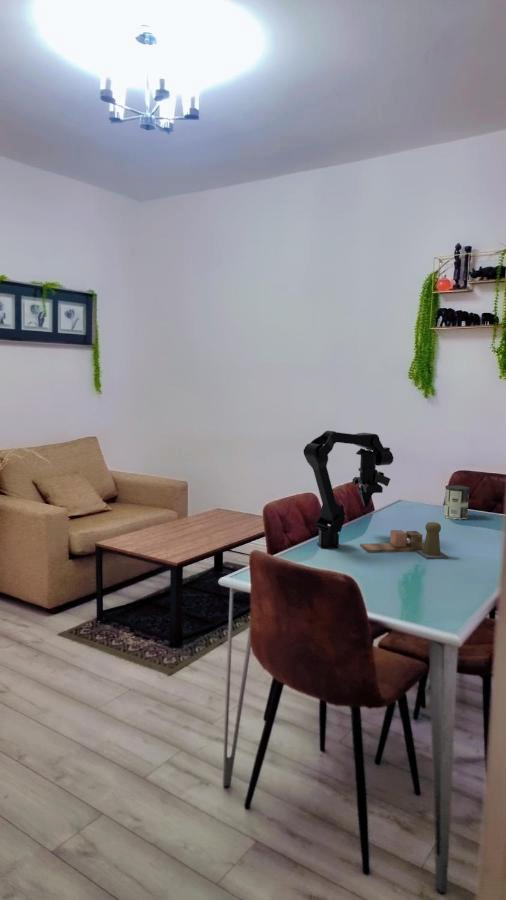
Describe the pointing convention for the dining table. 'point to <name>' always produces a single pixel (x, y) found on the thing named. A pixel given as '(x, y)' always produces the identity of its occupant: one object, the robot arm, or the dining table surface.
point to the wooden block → (399, 538)
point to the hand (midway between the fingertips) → (365, 507)
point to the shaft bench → (387, 547)
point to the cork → (432, 539)
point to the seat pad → (441, 556)
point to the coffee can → (456, 502)
